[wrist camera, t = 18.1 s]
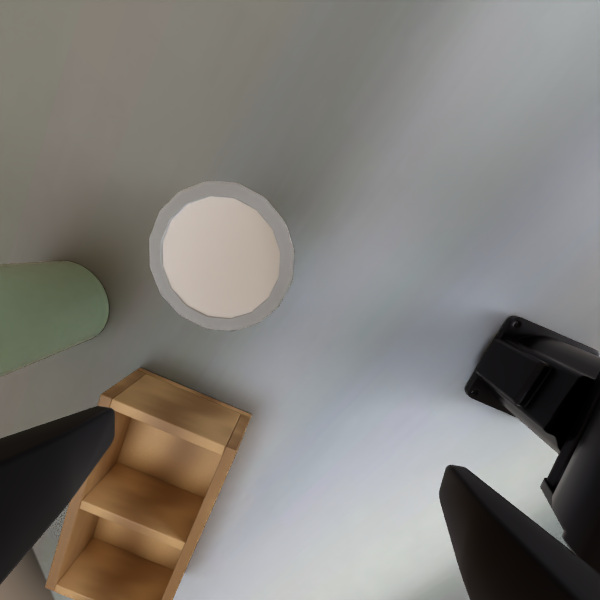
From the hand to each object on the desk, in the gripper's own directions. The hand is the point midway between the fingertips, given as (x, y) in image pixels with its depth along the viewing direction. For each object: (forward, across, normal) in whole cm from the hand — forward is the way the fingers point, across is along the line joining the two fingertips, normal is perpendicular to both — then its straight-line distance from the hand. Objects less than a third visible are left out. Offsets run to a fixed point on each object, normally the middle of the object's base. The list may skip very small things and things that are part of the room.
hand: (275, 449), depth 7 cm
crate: (+13, +10, +16) cm, 23 cm away
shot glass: (+13, +4, -4) cm, 14 cm away
